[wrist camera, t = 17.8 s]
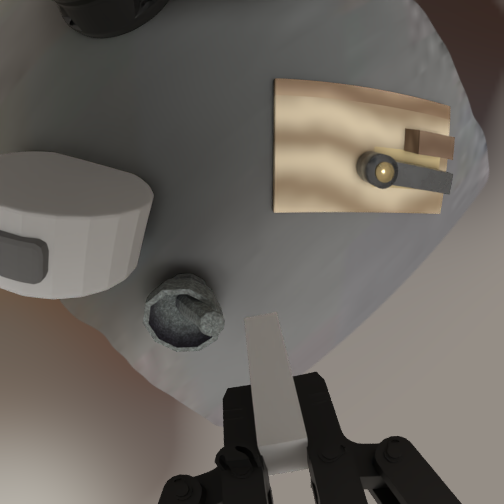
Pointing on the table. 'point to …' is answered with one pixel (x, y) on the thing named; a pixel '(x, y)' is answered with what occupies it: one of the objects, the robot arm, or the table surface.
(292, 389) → the robot arm
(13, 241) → the alarm clock
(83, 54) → the table surface
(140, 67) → the table surface
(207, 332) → the mortar and pestle
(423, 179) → the latch bar
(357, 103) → the board
